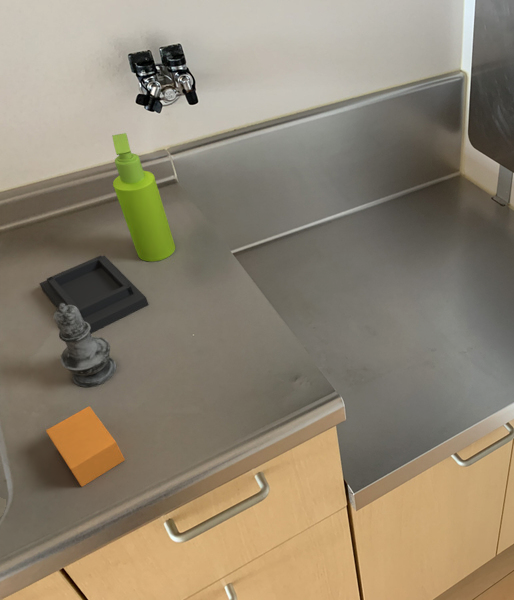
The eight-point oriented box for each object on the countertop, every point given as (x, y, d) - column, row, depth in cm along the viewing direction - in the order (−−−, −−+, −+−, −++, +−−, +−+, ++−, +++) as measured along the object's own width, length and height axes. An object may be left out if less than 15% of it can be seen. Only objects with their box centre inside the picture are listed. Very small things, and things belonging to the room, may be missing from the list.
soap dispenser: (140, 269, 96) (99, 153, 83) (135, 245, 101) (96, 132, 87) (179, 259, 98) (144, 145, 84) (172, 236, 102) (138, 124, 89)
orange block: (81, 487, 67) (70, 469, 65) (56, 448, 71) (45, 430, 68) (125, 460, 70) (115, 441, 67) (99, 424, 73) (89, 405, 71)
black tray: (81, 338, 84) (73, 322, 82) (42, 290, 92) (35, 275, 90) (148, 304, 90) (143, 289, 88) (107, 262, 97) (101, 247, 95)
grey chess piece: (121, 352, 82) (92, 284, 74) (114, 385, 78) (81, 316, 70) (75, 358, 82) (41, 289, 74) (65, 391, 77) (27, 322, 69)
